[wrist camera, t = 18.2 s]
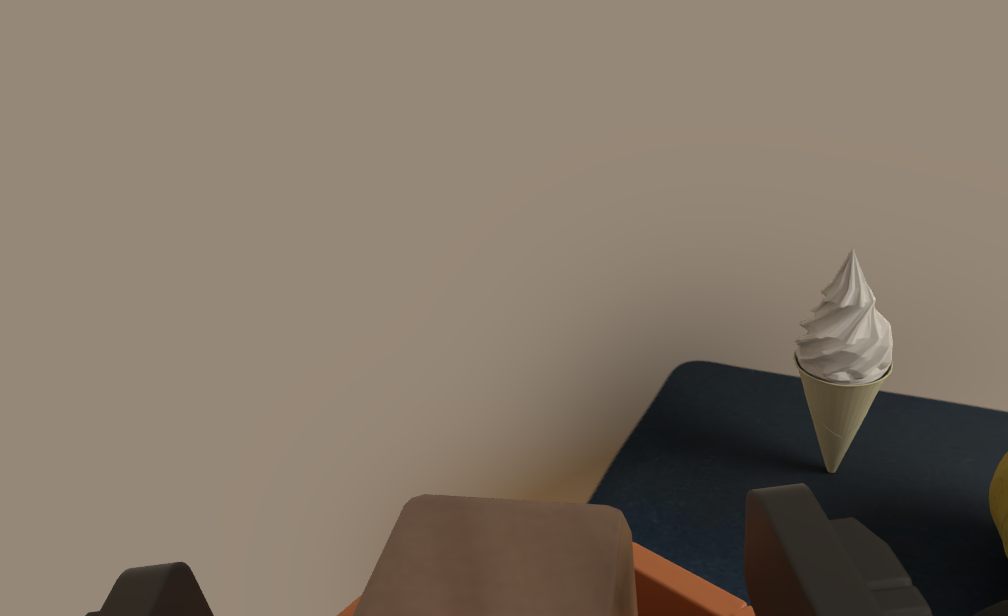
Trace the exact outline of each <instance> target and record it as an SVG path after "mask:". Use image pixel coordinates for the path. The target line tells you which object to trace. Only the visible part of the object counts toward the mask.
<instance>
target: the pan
mask: <svg viewBox="0 0 1008 616" xmlns="http://www.w3.org/2000/svg"><path fill="white" fill-rule="evenodd" d="M632 546H633V559H634V572H635V585H636V598H637V611H638V616H755V613H754V611H753V608H752V607H751V606H747V604H746V602H745V601H743V600H741V599H739V598H738V597H736V596H734V595H732V594H730V593H728V592H726V591H724V590H723V589H721V588H719V587H717V586H715V585H713V584H711V583H709V582H708V581H706V580H704V579H702V578H700V577H698V576H696V575H694V574H693V573H691V572H689V571H687V570H685V569H683V568H681V567H679V566H678V565H676V564H674V563H672V562H670V561H668V560H666V559H664V558H663V557H661V556H659V555H657V554H655V553H653V552H651V551H650V550H648V549H646V548H644V547H642V546H640V545H638V544H636V543H635V542H632ZM361 596H362V595H361ZM361 596H360V597H359V598H358V599H356V600H355V601H354V602H353V603H352V604H350V605H349V606H348V607H347V608H346V609H344V611H342V612H341V613H340V614H338V615H337V616H352V615H353V613H354V611H355V609H356V607H357V605H358V603H359V600H360V598H361Z"/></svg>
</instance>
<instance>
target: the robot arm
mask: <svg viewBox="0 0 1008 616" xmlns="http://www.w3.org/2000/svg"><path fill="white" fill-rule="evenodd" d="M744 569H745V578H746V584H747V589H748V594H749V598H750V601H751V605H752V608H753V611H754V613H755V616H933V615H932V613H931V608H930V607H929V605H928V604H927V602H926V601H925V599H924V598H923V596H922V595H921V593H920V592H919V590H918V589H917V587H916V586H913V585H912V582H911V578H910V577H909V575H908V574H907V572H906V571H905V569H904V568H903V566H902V565H901V563H900V562H899V560H898V559H897V557H896V556H895V554H894V553H893V551H892V550H891V548H890V547H889V545H888V544H887V543H886V542H884V541H883V540H882V539H880V538H879V537H878V536H877V535H875V534H874V533H873V532H871V531H870V530H869V529H868V528H866V527H865V526H864V525H862V524H861V523H860V522H859V521H857V520H856V519H855V518H853V517H850V518H842V519H834V520H828V518H827V516H826V515H825V513H824V511H823V510H822V508H821V506H820V505H819V503H818V501H817V500H816V498H815V496H814V494H813V493H812V491H811V490H810V489H809V487H808V486H807V485H805V484H803V483H801V484H793V485H785V486H777V487H770V488H762V489H754V490H749V491H748V493H747V497H746V522H745V558H744ZM86 616H214V615H213V613H212V611H211V609H210V608H209V605H208V603H207V601H206V599H205V597H204V595H203V593H202V591H201V589H200V587H199V585H198V583H197V581H196V579H195V577H194V575H193V573H192V571H191V569H190V567H189V566H188V565H187V564H185V563H183V562H176V563H168V564H160V565H153V566H146V567H137V568H130V569H127V570H125V571H124V572H123V573H122V574H121V575H120V576H119V578H118V579H117V581H116V583H115V584H114V586H113V588H112V590H111V592H110V594H109V595H108V597H107V599H106V601H105V603H104V605H103V606H102V608H101V610H100V611H98V612H89V613H88V614H87V615H86Z"/></svg>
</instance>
